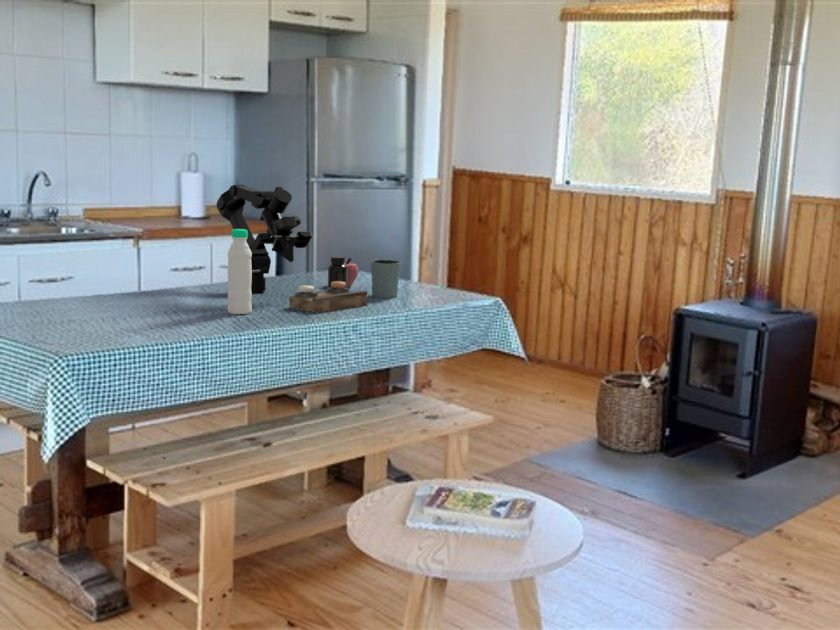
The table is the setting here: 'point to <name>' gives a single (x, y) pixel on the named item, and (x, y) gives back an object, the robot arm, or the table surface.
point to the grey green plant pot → (385, 278)
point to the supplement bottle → (337, 271)
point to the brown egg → (338, 284)
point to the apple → (351, 272)
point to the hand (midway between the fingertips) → (292, 261)
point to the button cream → (306, 289)
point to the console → (328, 300)
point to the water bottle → (239, 274)
